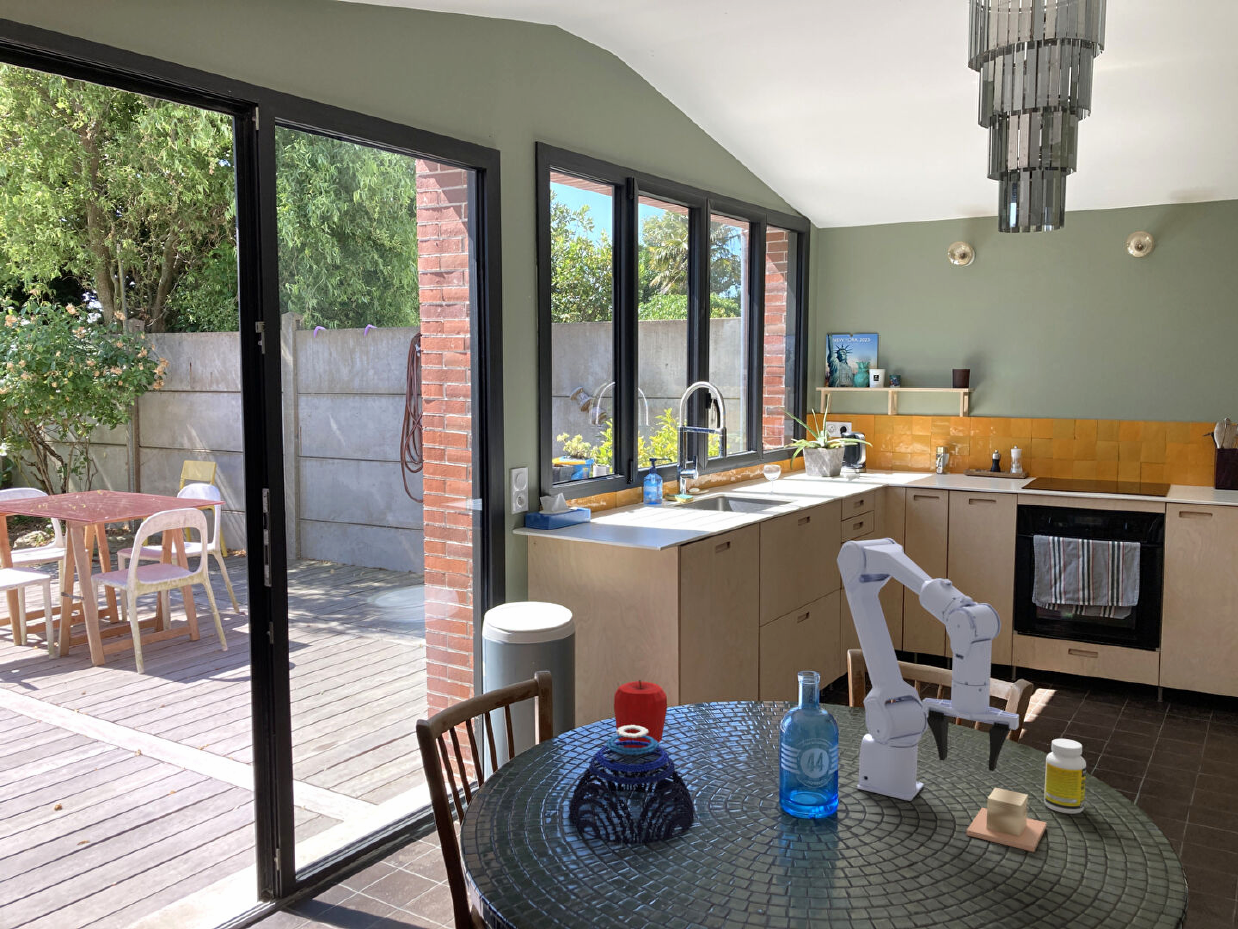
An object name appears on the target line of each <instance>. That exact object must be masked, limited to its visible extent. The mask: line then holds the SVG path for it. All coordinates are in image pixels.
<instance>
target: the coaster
mask: <svg viewBox="0 0 1238 929" xmlns="http://www.w3.org/2000/svg"><path fill="white" fill-rule="evenodd" d="M986 825H987V807H986V808H985V807H981V808H980V810H979V811H978V812H977V814H976V815H975V817H974V819H973V820H972V822H971V823H970V825H969V826H968V827H967V829H966V836H969V837H974V838H977V839H982V840H985V841H989V842H992V843H993V842H994V843H997V844H1000V845H1001V844H1002V845H1005V846H1009V847H1014V848H1017V849H1021V850H1025V851H1028V852H1033V853H1034V852H1035V851H1036V849H1037V847H1038V845H1039V842H1040V841H1041V839H1042V837H1043V835H1044V833H1045V831H1046V829H1047V822H1046V821H1045V822H1044V821H1041V820H1036V819H1032V818H1029V817H1027V825H1026V827H1025V829H1024V830H1023V832H1022V834H1021V836H1020V837H1018V836H1014V835H1010V834H1006V833H1002V832H998V831H994V830H990V829H986Z"/></svg>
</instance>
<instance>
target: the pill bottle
mask: <svg viewBox="0 0 1238 929" xmlns="http://www.w3.org/2000/svg"><path fill="white" fill-rule="evenodd" d="M1082 753H1083V745H1082V744H1081V743H1080V742H1078V741H1076V740H1073V739H1066V738H1055V739H1053V740H1051V752H1049V753H1048V754H1047V755H1046V758H1045V769H1044V770H1045V775H1044V790H1043V791H1044V793H1043V794H1044V796H1043V802H1044V804H1045V806H1046V807H1047V808H1049V809H1050V810H1053V811H1054V812H1058V813H1061V814H1062V813H1063V814H1069V815H1070V814H1071V815H1072V814H1074V815H1077V814H1080V813H1082V812H1083V811H1084V809H1085V797H1086V795H1085V794H1086V779H1087V762H1086V760H1085V758H1084V757H1082Z"/></svg>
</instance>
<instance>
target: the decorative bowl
mask: <svg viewBox="0 0 1238 929" xmlns="http://www.w3.org/2000/svg"><path fill="white" fill-rule="evenodd" d="M628 729H629V730H630V729H636V730H639V731H640V732H638V733H636V734H634V733H633V734H632V733H626V732H625V730H628ZM615 733H618V734H619V735H618V734H617V735H614V736H611V737H610V738H608V740H607V741H606V745H604V746H602V747H601V748H600V749H598V751H597V752H596V753H595V756H593V757H592V758H591V759H590V761H588V764H589V765H588V768H586V771H585V772H583V775H582V776H581V777H580V779H579V780H578V783H577V785H576V787H575V788H574V789H573V794H572V798H571V799H570V802H569V803H570V804H569V806H568V808H569V816H568V817H569V818H570V820H569V821H570V822H571V823H572V825H574V826H575V828H576V829H578V831H579V832H581V833H584V834H586V835H589V836H591V837H593V838H596V839H598V840H603V841H606V842H612V843H616V844H618V843H619V844H620V843H622V844H632V845H634V844H638V845H639V844H640V845H641V844H650V843H656V842H657V843H659V842H660V841H665V840H669V839H671V838H675V837H677V836H680V835H681V834H683V833H685V831H686V830H688V828H690V826H692V825H693V821H694V815H695V814H694V813H695V812H694V805H693V799H692V797H691V793H690V791H689V788H688V786H687V784H686V783H685V782H684V780H683V777H682V776H681V775H679V773H678V771H676V770H675V766H676V765H675V762H674V761H673V760H672V758H670V757H669V753H668V752H667V751H666V750H664V749H663V747H660V745H659V743H660V742H659V743H658V742H657V740H654V739H653V738H652V737H649V736H646V734H647V733H648V729H646V728H644V727H641V726H636V725H630V726H629V725H627V726H622V727H620V728H618V730H617V729H616V730H615ZM622 737H629V738H630V737H632V738H636V737H641V738H646V739H647V740H650V743H648V742H641V741H640V742H639V741H633V740H631V741H629V740H627V741H622V742H620V741H616V740H618V739H619V738H622ZM624 745H625V746H626V745H641V746H647V747H643V748H629V747H628V748H625V747H624ZM620 746H621V747H620ZM622 746H623V747H622ZM607 749H608V750H607ZM656 750H657V751H656ZM611 754H613V755H614V754H622V755H623V754H624V755H625V754H626V755H629V756H630V755H631V756H633V755H642V754H650V755H653V756H654V755H655V756H657V757H658V758H657V759H656V760H655V759H647V760H643V761H641V762H639V763H637V764H636V763H635V764H633V763H630V764H626V763H623V762H620V761H619V760H616V759H615V758H611V759H608V758H607V757H606V756H604V755H611ZM667 763H668V764H667ZM605 768H606V769H607V770H606V769H605ZM607 771H610V773H612V774H609V773H608V772H607ZM629 773H630V774H629ZM648 773H649V774H648ZM620 774H622V775H623V776H620ZM604 780H605V781H606V784H605V781H604ZM594 781H597V783H595V782H594ZM656 782H657V783H656ZM599 783H600V784H599ZM654 783H655V785H654ZM616 784H617V785H616ZM623 784H624V786H622V785H623ZM653 785H654V789H653ZM600 791H601V792H600ZM622 791H623V792H625V791H629V792H630V791H632V792H645V793H646V792H647V793H650V794H651V793H652V795H651V796H649V798H648V800H647V801H646V803H645V804H644V805H643V808H642V810H641V812H640V814H639V817H640V818H637V819H638V820H637V822H636V823H635V822H634V818H632V817H633V814H632V812H630V809H629V806H628V804H626V803H625V801H624V799H622V798H620V797H619V794H618V792H622ZM605 793H609V794H610V796H613V797H614V799H616V800H617V802H618V803H617V802H614V800H613V799H612V797H610V796H605V795H603V794H605ZM594 796H596V797H599V798H602V799H603V801H604V802H606V804H604V803H603V801H601V800H598V799H595V798H593V797H594ZM672 800H673V801H674V802H673V803H671V804H667V803H668V802H670V801H672ZM655 803H658V804H657V805H656V806H655V805H654V804H655ZM592 804H593V805H595V806H597V808H598V809H600V810H601V811H602V812H603V813H604V814H605V816H604V818H605V819H606V821H607V823H608V825H609V826H611V827H612V828H611V832H612V836H614V839H613V838H612V839H611V833H610V832H609V830H608V828H609V827H607V825H606V823H605V821H604V819H603V818H602V817H601V815H600V813H598V812H596V811H593V810H591V809H589V808H588V809H584V810H581V809H580V808H581V807H583V806H585V805H592ZM678 804H679V806H677V805H678ZM680 804H681V805H680ZM606 805H608V806H606ZM654 806H655V808H654V809H653V811H652V813H651V815H650V816H649V813H650V809H651V808H653V807H654ZM608 807H609V809H608ZM668 808H671V810H669V811H667V809H668ZM580 810H581V812H579V811H580ZM619 810H621V812H622V813H621V812H620V811H619ZM610 811H611V812H613V814H614V817H615V818H616V819H617V821H619V822H618V825H619V828H620V829H621V830H620V831H621V833H619V830H617V826H616V823H615V821H614V820H613V818H612V816H611V814H610ZM665 811H667V812H666V814H664V813H665ZM676 811H679V812H677V813H675V814H673V813H674V812H676ZM578 813H579V814H578ZM672 814H673V815H672ZM586 815H590V816H593V817H595V818H596V819H597V820H598V822H599V824H600V825H602V829H603V831H604V837H602V835H601V829H600V827H599V825H598V824H597V822H596V821H592V820H590V819H588V818H583V817H585V816H586ZM671 815H672V816H671ZM670 816H671V817H670ZM648 817H649V818H648ZM661 817H663V818H662V819H661ZM647 818H648V821H647V820H646V819H647ZM656 818H657V819H656ZM623 819H625V821H626V823H627V824H629V826H627V825H626V824H625V823H624V822H625V821H624V820H623ZM660 819H661V822H660ZM654 820H655V821H654ZM646 821H647V825H646V829H645V833H644V826H643V825H645V823H646ZM653 821H654V822H653ZM659 822H660V823H659ZM666 822H667V823H666ZM658 823H659V824H658ZM635 824H636V826H635V828H634V825H635ZM664 826H665V827H664ZM678 826H679V827H680V828H681V829H680V830H679V831H677V832H674V831H675V830H676V828H677V827H678ZM587 827H591V829H592V831H593V833H594V834H592V833H590V832H589V831H588V832H587V831H586V830H585V829H586V828H587ZM627 828H628V831H629V834H630V838H628V835H627ZM663 828H664V830H663ZM635 830H636V831H635ZM650 830H652V832H651V831H650ZM635 832H636V833H635ZM643 833H644V834H643ZM662 833H663V834H662ZM643 835H644V836H643ZM662 835H663V836H662Z"/></svg>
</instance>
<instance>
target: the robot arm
mask: <svg viewBox="0 0 1238 929" xmlns="http://www.w3.org/2000/svg"><path fill="white" fill-rule="evenodd" d="M836 563H837V566H838V570H839V573H840V575H841V580H842V584H843V586H844V592H845V596H846V599H847V603H848V606H849V610H850V613H851V617H852V620H853V623H854V624H853V625H854V627H855V630H856V634H857V637H858V640H859V644H860V648H861V652H862V656H863V658H864V661H865V665H866V668H867V672H868V677H869V680H870V682H871V685H872V688H871V690H870V691H869V692H868V694H867V695H866V696H865V698H864V700H863V705H864V709H865V725H866V729H867V731H868V733H865V735H864V736H863V738H862V739H861V742H860V748H859V761H858V762H859V764H858V766H859V768H858V784H857V786H856V787H857V789H858V790H862V791H867V792H870V793H876V794H879V795H883V796H886V797H887V796H888V797H892V798H895V799H900V800H904V801H909V802H910V801H912V800H913V799H914V798H915V796H916V795H918V793H920V791H921V790H922V788H923V787H924V783H923V782H920V781H917V776H918V775H917V774H918V773H917V771H918V749H919V748H918V746H919V745H918V744H919V741H921V740H922V734H924V733H925V732H926V731H927V730H928V727H929V728H930V731H931V733H932V734H933V738H934V741H935V743H936V748H937V752H938V758H939V759H938V760H939V761H945V760H946V759H947V757H948V749H949V748H948V747H949V746H948V745H949V744H948V736H949V734H948V733H949V725H950V724H949V723H950V717H955V718H957V719H959V718H960V719H965V720H969V721H974V722H980V723H984V724H991V725H992V726H991V727H990V728H989V730H988V735H989V758H988V771H990V772H994V771H995V770H996V768H997V766H998V765H997V764H998V760H999V756H1000V753H1001V750H1002V748H1003V745H1004V743H1005V741H1006V740H1007V737H1008V735H1009V733H1010V732H1011V730H1014V731H1016V730H1017V729H1018V728H1019V726H1020V722H1019V721H1020V714H1018V713H1012V712H1010V711H1005V710H1002V709H1000V708H996V707H992V706H990V693H991V692H990V689H991V672H992V671H991V669H992V667H991V666H992V664H991V663H992V648H993V647H992V645H993V644H992V641H993V640H994V639H996V638H997V637H998V636H999V634H1000V632H1001V628H1002V624H1001V618H1000V616H999V613H998V612H997V610H996V609H995V608H994V607H993V606H992V605H991V604H990V603H986V602H981V603H978V602H976V601H973V598H971V597H970V596H969V595H966V594H964V593H962V591H960V590H958V589H957V588H956V587H955V586H954V585H953V581H951V580H950V579H948V578H932V577H931V576H930V575H928V573H927V572H925V571H924V570H923V569H922V568H921V567H920V566H919V565H918V564H916V562H914V561H913V560H912V559H910V558H909V557H908V555H906V554H905V551H904V547H903V545H901V544H899V543H897V542H896V540H894V539H893V538H890V537H884V538H880V539H879V538H878V539H867V540H856V541H854V540H848V541H846V542H845V543H844V544H842V546H841V548H840V550H839V553H838V556H837V558H836ZM891 578H894V579H895V580H896V581H898V582H899V583H901V585H904V586H906V588H908V589H910V590H911V591H912V592H914V593H915V594H916V595H919V597H918V598H919V603H920V605H921V606H922V607H923V608H924V609H925V610H926V611H927V612H929V613H930V614H931V615H933V616H934V618H936V619H937V620H938V621H940V623H943V625H945V630H946V633H947V636H948V637H949V640H950V649H951V652H952V671H951V674H952V675H951V694H950V697H951V698H950V699H938V698H930V697H925V698H924V699H922V700H921V698H920V696H919V692H918V690H917V689H916V688H915V687H913V686H912V685H911V684H909V683H907V682H906V681H904V679H903V675H902V672H901V669H900V665H899V663H898V658H897V655H896V652H895V649H894V645H893V641H892V638H891V635H890V632H889V628H888V624H887V622H886V618H885V615H884V612H883V608H882V605H881V601H880V598H879V593H880V591H881V589H882V588H883V587H884V586H885V585H886V584H887V583H888V581H889V580H890V579H891ZM889 701H891V702H889Z"/></svg>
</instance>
